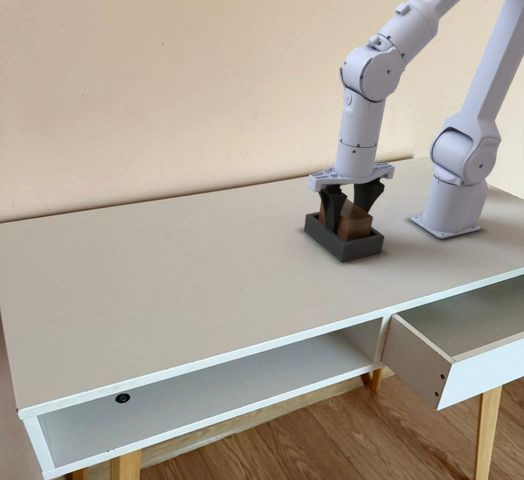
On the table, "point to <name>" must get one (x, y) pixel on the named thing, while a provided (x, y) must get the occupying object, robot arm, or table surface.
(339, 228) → the walnut block
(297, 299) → the table surface
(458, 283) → the table surface
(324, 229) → the dark gray rectangular tray
